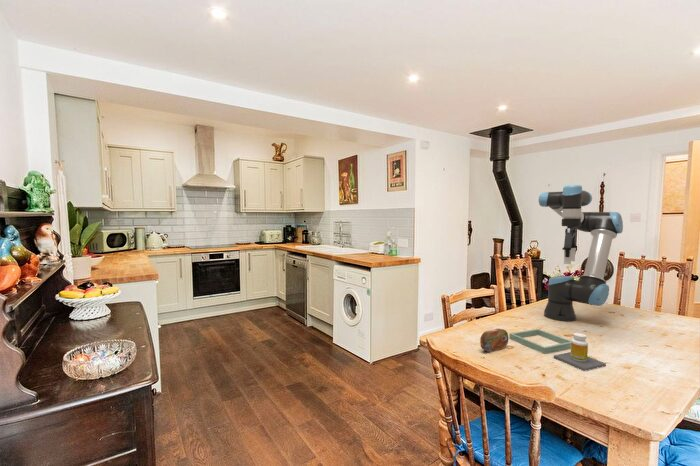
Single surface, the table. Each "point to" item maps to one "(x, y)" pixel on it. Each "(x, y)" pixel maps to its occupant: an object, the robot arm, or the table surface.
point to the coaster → (583, 366)
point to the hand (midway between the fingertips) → (569, 262)
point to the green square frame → (548, 349)
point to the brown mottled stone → (494, 340)
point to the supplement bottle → (579, 347)
